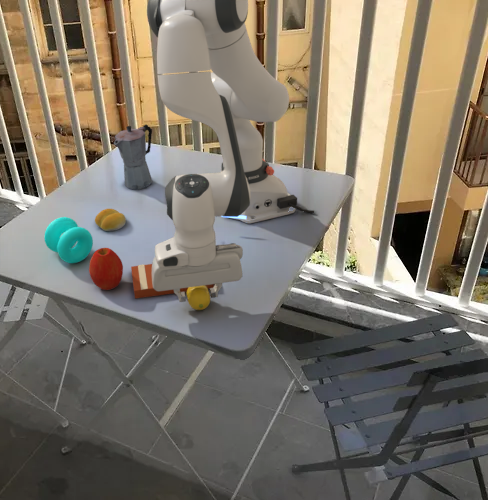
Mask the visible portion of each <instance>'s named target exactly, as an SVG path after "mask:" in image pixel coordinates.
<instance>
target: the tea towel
mask: <svg viewBox="0 0 488 500" xmlns="http://www.w3.org/2000/svg"><path fill="white" fill-rule="evenodd" d="M130 269H131V277H132V278H131V279H132V287H133V295H134V299H141V298H149V297H150V298H151V297H158V296H164V295H165V296H166V295H172V294H175V293H174V290H165V291H156V290H155V289H154V288H153V284H152V263H148V264H138V265H133V266H131V267H130ZM205 286H206V287H207V288H208V290H210V288H213V287H214V286H215V285H214V284H211V285H205ZM188 288H189V287H188ZM188 288H180V291H181V292H185V293H187V289H188Z"/></svg>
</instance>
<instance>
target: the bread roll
mask: <svg viewBox="0 0 488 500" xmlns="http://www.w3.org/2000/svg"><path fill="white" fill-rule="evenodd" d="M126 219H127V218H126V216H125V214H124V213H122V212H119V211H118V210H117V209H115V208H105V209H102V210H101V211H99V212H98V213H97V214H96V215H95V218H94V223H95V225H96V226H97V227H98V228H100V229H101V230H102V231H105V232H113V231H117V230H120V229H122V228H123V227H124V226H125V224H126V221H127V220H126Z"/></svg>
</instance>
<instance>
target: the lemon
mask: <svg viewBox="0 0 488 500" xmlns="http://www.w3.org/2000/svg"><path fill="white" fill-rule="evenodd" d="M186 297H187V298H186V299H187V303H188V305H189V306H190V307H191V308H192V309H193V310H196V311H202V310H205V309H206V308H208V307H209V305H210V303H211V299H212V298H211V295H210V289H208V288H207V287H206V286H205V285H203V286H196V287H189V288H188V289H187V292H186Z"/></svg>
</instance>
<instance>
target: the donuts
mask: <svg viewBox="0 0 488 500" xmlns="http://www.w3.org/2000/svg"><path fill="white" fill-rule="evenodd" d="M43 238H44V243H45V245H46V247H47V249H49V250H50V251H52V252H55V253H57V254H58V256H59V258H60V259H61V260H62V261H64V262H65V263H67V264H77V263H79V262H82V261H84V260H85V259H86V258H87V257H88V256H89V255H90V253H91V251H92V250H93V245H94V239H93V236H92V234H91V232H90V231H89V230H88V229H87V228H85V227H82V226H79V225H78V223H77V222H76V221H75V220H74V219H72V218H71V217H68V216H61V217H58V218H55V219H53V220H52V221H51V222H50V223H49V224H48V225H47V227H46V229H45V231H44V237H43Z"/></svg>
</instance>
